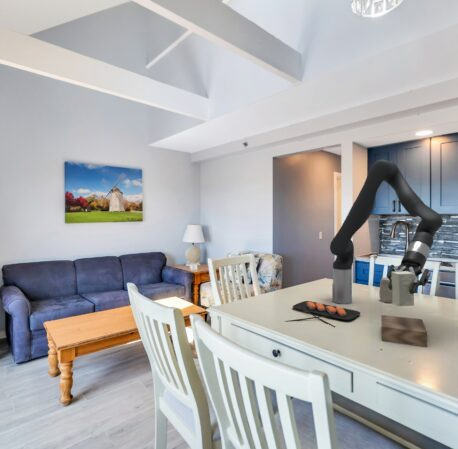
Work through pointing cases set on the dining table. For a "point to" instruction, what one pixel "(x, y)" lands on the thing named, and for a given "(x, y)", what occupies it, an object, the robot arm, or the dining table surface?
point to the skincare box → (402, 288)
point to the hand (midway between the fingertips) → (400, 290)
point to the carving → (385, 291)
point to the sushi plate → (325, 311)
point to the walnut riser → (403, 330)
